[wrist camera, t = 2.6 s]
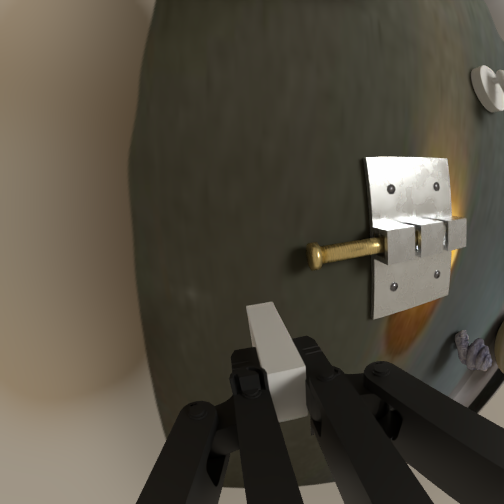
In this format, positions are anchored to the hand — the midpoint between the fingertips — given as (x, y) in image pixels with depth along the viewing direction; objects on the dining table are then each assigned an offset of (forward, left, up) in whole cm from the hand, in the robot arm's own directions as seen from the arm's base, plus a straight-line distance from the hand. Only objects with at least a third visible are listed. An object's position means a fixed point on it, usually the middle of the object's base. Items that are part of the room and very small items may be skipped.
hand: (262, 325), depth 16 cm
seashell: (+20, +34, -14) cm, 42 cm away
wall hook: (-23, +46, -14) cm, 54 cm away
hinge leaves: (0, +22, -14) cm, 26 cm away
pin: (0, +15, -14) cm, 21 cm away
